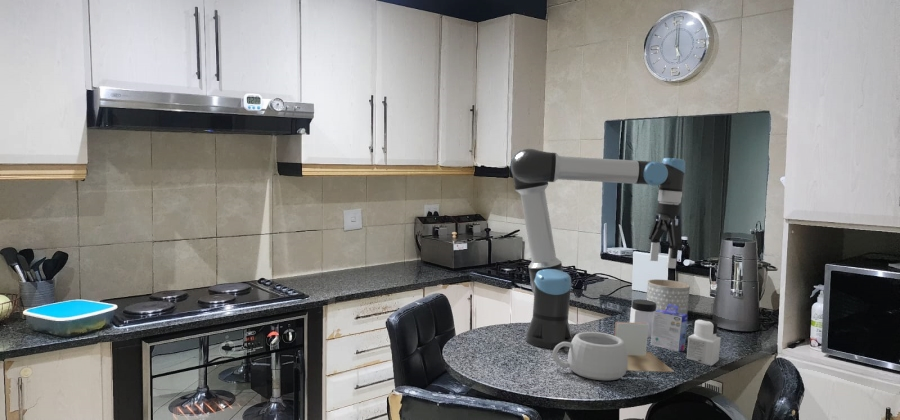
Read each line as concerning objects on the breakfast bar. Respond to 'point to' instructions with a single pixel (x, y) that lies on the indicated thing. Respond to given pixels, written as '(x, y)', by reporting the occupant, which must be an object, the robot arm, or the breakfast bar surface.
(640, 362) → the plate
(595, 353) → the mug
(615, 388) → the breakfast bar surface
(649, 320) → the jar
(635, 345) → the tile
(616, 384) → the breakfast bar surface
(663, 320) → the ink cartridge box
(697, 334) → the container
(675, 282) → the planter
